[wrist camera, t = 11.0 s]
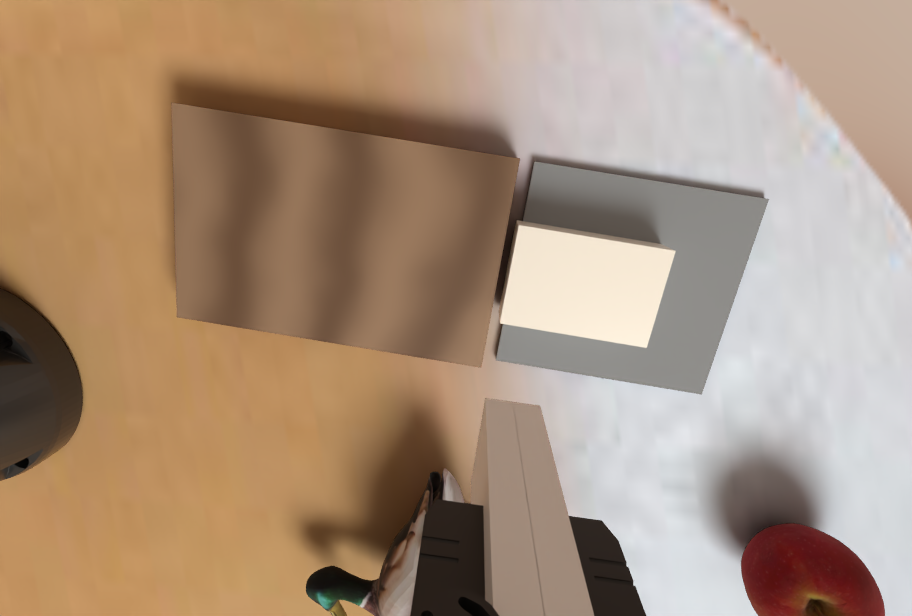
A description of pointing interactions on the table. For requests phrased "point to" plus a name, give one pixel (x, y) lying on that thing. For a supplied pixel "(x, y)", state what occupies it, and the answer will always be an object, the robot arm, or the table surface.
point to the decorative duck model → (385, 564)
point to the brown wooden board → (337, 234)
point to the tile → (584, 283)
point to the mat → (688, 284)
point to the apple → (807, 575)
